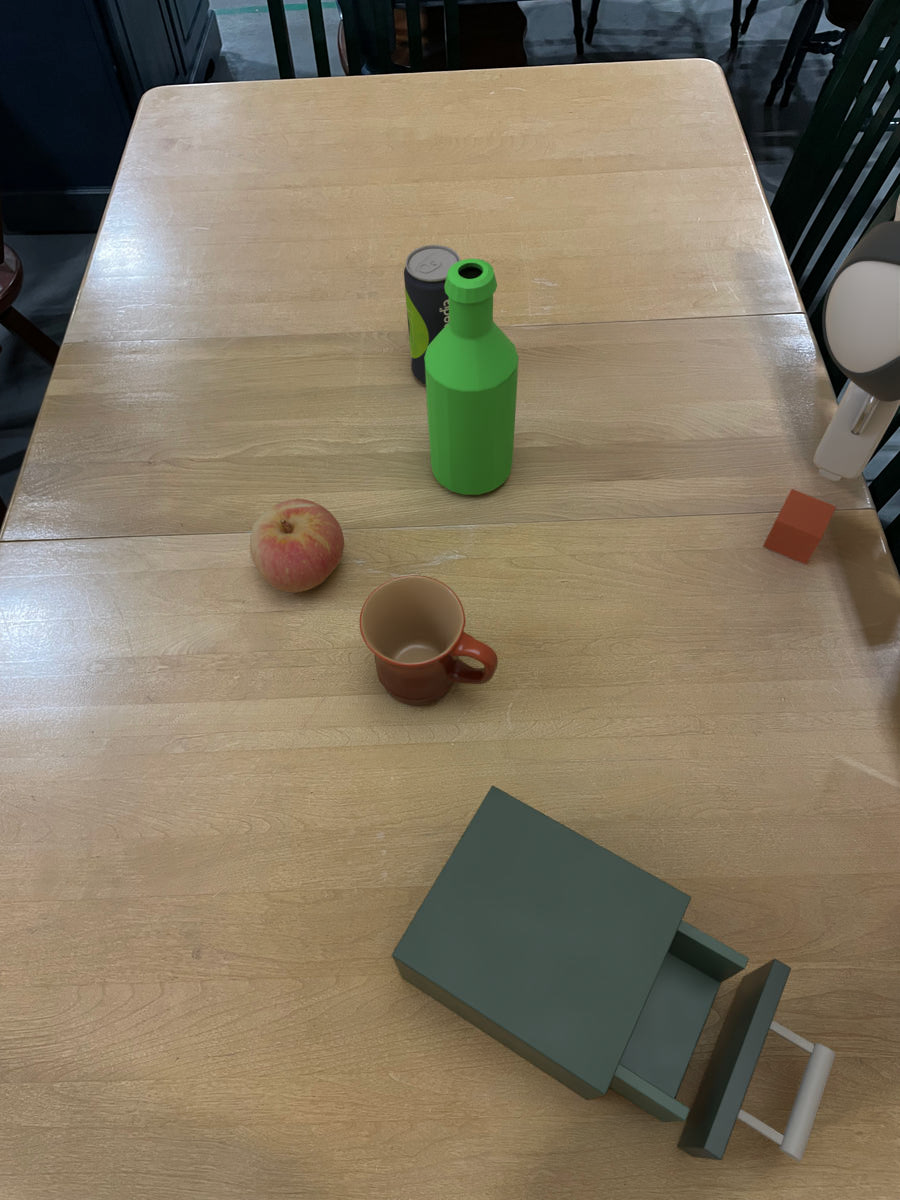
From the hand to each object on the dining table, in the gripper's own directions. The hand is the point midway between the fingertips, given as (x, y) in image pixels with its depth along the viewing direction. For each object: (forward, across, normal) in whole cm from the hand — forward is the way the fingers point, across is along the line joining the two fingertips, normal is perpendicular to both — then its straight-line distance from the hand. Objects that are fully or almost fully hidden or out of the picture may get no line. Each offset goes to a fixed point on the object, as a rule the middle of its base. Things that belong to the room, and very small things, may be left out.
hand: (847, 436), depth 73 cm
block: (+15, 0, 0) cm, 15 cm away
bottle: (+15, -8, +33) cm, 37 cm away
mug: (+15, -32, +23) cm, 42 cm away
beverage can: (+15, +3, +44) cm, 47 cm away
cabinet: (+15, -48, +4) cm, 50 cm away
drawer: (+14, -48, -7) cm, 50 cm away
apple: (+15, -28, +41) cm, 52 cm away
